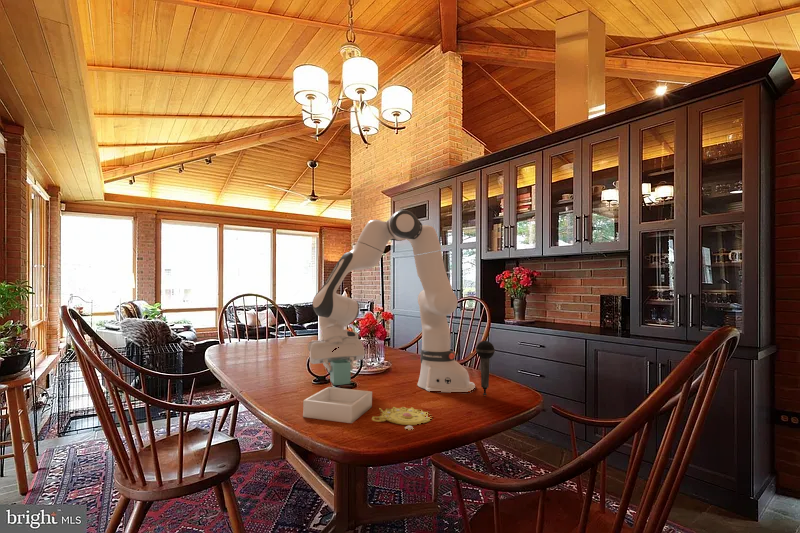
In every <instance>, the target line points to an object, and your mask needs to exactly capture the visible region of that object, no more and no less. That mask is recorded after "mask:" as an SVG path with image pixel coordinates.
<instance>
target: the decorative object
mask: <svg viewBox="0 0 800 533" xmlns="http://www.w3.org/2000/svg"><path fill="white" fill-rule="evenodd" d="M378 410H379V412H380V413H379V416H372V417H371V421H373V422H377V423H379V422H381V423H384V422H386V421H388V422H390V423H393V424H396V425H402V426H404V427H403V428H404V429H405V430H406V429H408V430H407V431H412V430H413V429H414V428H413V427H414V426H418V425H417V424H419V425H422V424H421V423H423V424H425V423H426V424H427V423H429V422H431V421H432V420H430V419H432V418H430V417H432V416H430V417H428V414H429V415H431V414H430V413H428V412H429V411H423V409H417V408H416V409H415V408H414V407H412V406H411V407H409V408H408V407H405V406H402V407H395V406H392V408H385V409H384V410H383V409H382V408H380V407H379V408H378ZM420 410H421V411H420ZM426 413H427V414H426ZM425 416H426V417H425ZM411 429H412V430H411ZM414 430H415V429H414Z"/></svg>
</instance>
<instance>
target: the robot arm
mask: <svg viewBox="0 0 800 533" xmlns="http://www.w3.org/2000/svg"><path fill="white" fill-rule="evenodd" d="M405 240H407V241H409V243H410V244H411V247H412V252H413V253H412V254H413V255H414V256H413V257H414V263H415V264H414V265H415V267H416V273H417V277H418V279H419V280H420V282H421V286H422V290H421V291H420V292H419V294H418V295H417V303H418V307H419V315H420V316H419V317H420V321H421V349H420V358H419V360H420V373H419V376H418V377H419V378H418V380H417V381H418V382H417V385H416V386H418V387H419V388H421V389H424V390H426V391H427V392H430V391H441V392H440V393H451V392H468V391H471V390H473V389H474V388H475V389H476V384H475V383H474V382H473V381H470V375H469V372H468V370H467V368H465V367H464V366H463V365H461V364H460V363H459V362H458V361H457V360H456V359H455V358H456V351H453V350H451V329H450V326H449V323H448V317H447V316H448V315H450V314H452V313H454V311H456V309H457V306H458V303H459V302H458V298H457V295H456V293H455V292H454V290H453V288H452V286H451V282H450V280H449V277H448V275H447V272H446V267H445V263H444V259H443V258H444V257H443V253H442V248H441V247H442V246H441V244H440V240H439V237H438V234H437V231H436V229H435V228H434V226H431V225H429V224H422V222H421V221H420V220H419V219H418V217H417V216H416V215H415V214H414V212H412V211H410V210H407V209H400V210H397V211H396V212H394V213H393V214H392V215H391V216H390V217H389V219H387V220H386V221H382V220H381V219H370V220H369V221H368V222H367V223H366V225H365V226H364V227H363V229H362V231H361V232H360V235H359V236H358V239H357V242H356V243H355V245H354V246H353V248H352V249H351V250H350V251H348V252H345V253H343V254H342V255H341V257H340V258H339V259H338V261H337V262H336V264H335V266H334V267H333V269H332V270H331V273H330V274H329V276H328V277H327V279H326V281H325V282H324V284H323V285H322V287H321V288H320V289H319V290H318V291H317V293H316V294H315V296H314V297H313V299H312V303H311V304H312V309H313V311H314V313H315V314H316V316H317V317H318V321H319V327H320V329H321V339H317V340H315V339H312V340H310V341H309V342H308V343H307V346H306V347H307V350H308V351H309V363H310V364H312V365H318V364H323V367H325V369H327V370H326V371H327V373H329V374H330V372H332V371H333V369H332V366H330V361H332V360H344V359H347V360H348V361H349V362H350V363H351V371H354V367H353V366H354V365H353V364H354V361H362V360H363V359H364V357H365V353H366V351H365V348H364V345H363V342H362V340H361V339H359V333H358V332H355V331H351V330H347V329H345V327H347V326H350V325H351V324H352V323H353V322H354V321H356V320H357V318H358V316H359V314H360V307H359V303H358V301H357V300H356V299H354V298H351V297H349V296H346V295H342V294H339V293H337V291H338V289H339V288H340V286H341V284H342V283H343V282H344V279H345V278H346V276H347V275H348V274H349V273H350V272H352V271H353V272H354V271H357V270H361V271H362V270H368V269H369V270H370V269H372V268H374V267H376V266H377V265H378V264H379V262H381V258H382V257H383V255H384V252H385V249H386V247H387V245H388V243H389V241H397V242H401V241H402V242H403V241H405ZM338 347H339V348H338ZM335 348H337V349H336V350H334V349H335ZM333 350H334V351H333ZM332 351H333V352H332ZM475 389H474V390H475Z"/></svg>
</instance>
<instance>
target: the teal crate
mask: <svg viewBox="0 0 800 533" xmlns="http://www.w3.org/2000/svg"><path fill="white" fill-rule="evenodd" d="M329 365H330V366H332V369H333V371H332V372H329V375H330V376H329V378H330V379H329V382H330V383H331V384H332V385H333V386H343V385H350V384H352V383H351V381H352V380H351V378H352V377H351V371H352V370H351V363H350V362H349V361H348V360H347V359H344V360H332V361H330V363H329Z"/></svg>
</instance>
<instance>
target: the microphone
mask: <svg viewBox="0 0 800 533" xmlns="http://www.w3.org/2000/svg"><path fill="white" fill-rule="evenodd" d="M495 351H496V349H495V347H494V345H493V343H492V342H491V341H488V340H483V341H480V342H478V344H477V345H476V347H475V352H476V354H477V356H478V357H479V358H480V383H481V384H480V386H481V388H482V389H483V394H482V395H487V390H488V389H489V387H490V384H489V382H490V362H491V358H492V357H493V356H494V354H495Z"/></svg>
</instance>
